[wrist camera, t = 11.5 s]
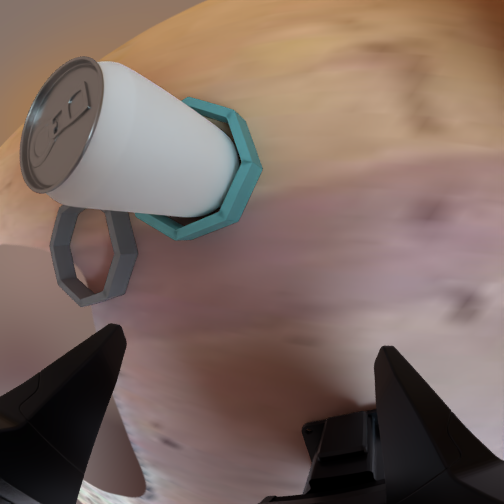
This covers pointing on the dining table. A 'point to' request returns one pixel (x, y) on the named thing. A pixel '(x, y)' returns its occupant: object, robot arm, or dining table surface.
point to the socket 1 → (119, 267)
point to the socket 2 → (239, 186)
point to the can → (123, 145)
